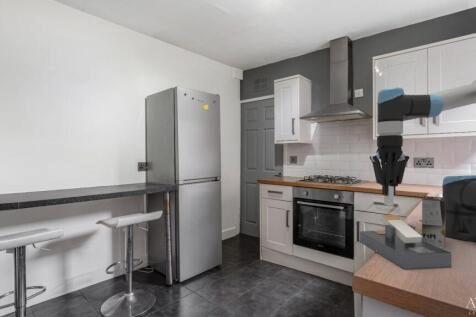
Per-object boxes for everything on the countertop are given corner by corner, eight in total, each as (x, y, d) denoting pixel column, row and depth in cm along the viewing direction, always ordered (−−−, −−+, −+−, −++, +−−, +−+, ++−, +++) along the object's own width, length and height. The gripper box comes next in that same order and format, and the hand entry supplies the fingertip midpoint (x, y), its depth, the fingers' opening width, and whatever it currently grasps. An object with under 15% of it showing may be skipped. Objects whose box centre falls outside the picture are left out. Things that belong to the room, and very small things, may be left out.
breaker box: (396, 240, 95) (396, 216, 95) (451, 266, 73) (451, 235, 73) (359, 242, 94) (359, 217, 93) (404, 269, 72) (404, 237, 71)
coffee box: (444, 249, 86) (445, 200, 86) (421, 245, 90) (421, 198, 90) (445, 241, 93) (445, 197, 93) (423, 238, 97) (423, 195, 97)
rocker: (394, 220, 89) (396, 214, 89) (421, 242, 78) (422, 236, 77) (380, 220, 89) (381, 215, 88) (404, 243, 77) (406, 236, 77)
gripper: (399, 136, 92) (398, 202, 92) (364, 135, 91) (363, 203, 91) (416, 134, 84) (415, 207, 85) (378, 134, 83) (377, 207, 84)
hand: (388, 205), depth 88 cm, fingers closed
